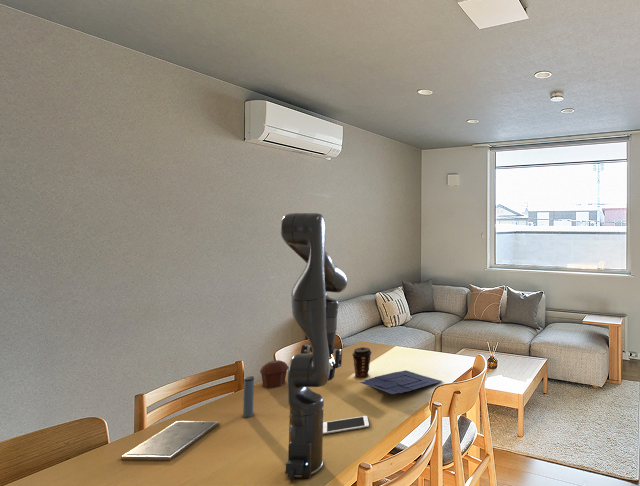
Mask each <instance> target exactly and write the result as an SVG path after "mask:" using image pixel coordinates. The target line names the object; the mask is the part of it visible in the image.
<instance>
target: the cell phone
mask: <svg viewBox="0 0 640 486" xmlns="http://www.w3.org/2000/svg"><path fill="white" fill-rule="evenodd" d="M369 427H370V422H369V419H368V415H362V416H356V417H348V418H343V419H337V420H330V421H323V435H327V434H333V433H339V432H345V431H346V432H347V431H353V430H358V429H364V428H369Z"/></svg>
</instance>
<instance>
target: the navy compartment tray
mask: <svg viewBox="0 0 640 486" xmlns="http://www.w3.org/2000/svg"><path fill="white" fill-rule="evenodd" d="M442 382H443V381H442V380H439V379H436V378H432V377H428V376H426V375H422V374H419V373H415V372H412V371H409V370H401V371H395V372H390V373H385V374H381V375H376V376H374V377H370V378H368V379H367V378H366V379H363V381H361V382H359V383H360V384H362V385H366V386H368V387H371V388H374V389H377V390H379V391H381V392H382V391H383V392H386V393H388V394H390V395H395V394H402V393H406V392H407V393H408V392H411V391H415V390H417V389H420V388H424V387H426V386H431V385H435V384H438V383H442Z"/></svg>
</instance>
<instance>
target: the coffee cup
mask: <svg viewBox="0 0 640 486" xmlns="http://www.w3.org/2000/svg"><path fill="white" fill-rule="evenodd" d="M371 354H372V351H371V349H370V348H369V347H365V346H364V347H358V348H357V347H356V348H354V350H353V352H352V359H353V367H354V378H355V380H365V379H367V378H368V377H369V371H370V364H371Z"/></svg>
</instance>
